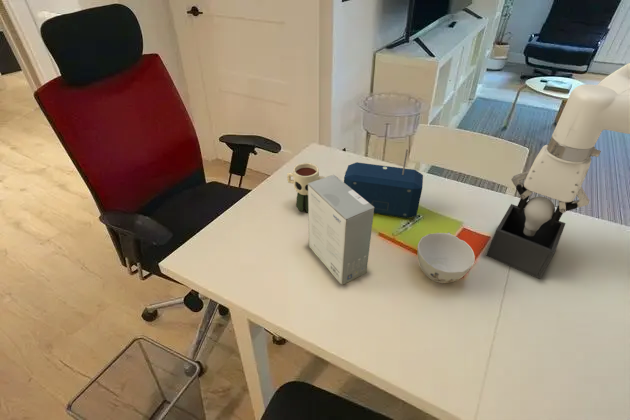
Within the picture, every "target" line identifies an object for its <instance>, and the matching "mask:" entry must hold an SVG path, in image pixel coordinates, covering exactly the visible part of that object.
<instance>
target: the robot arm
mask: <svg viewBox="0 0 630 420" xmlns="http://www.w3.org/2000/svg"><path fill="white" fill-rule="evenodd" d="M603 131H610V132H616V133H619V134H620V133H621V134H626V135H630V62H628V63H626V64H625V65H623V66H622V67H620V68H617V70H614V71H613V72H611V73H610V74H608V75H607V76H606V77H604V78H603V79H602V80H600V82H599V83H597V84H591V83H590V84H588V83H587V84H580V85H578V86H576V87H574V88H573V89H572V91H570V94H569V97H568V98H567V100H566V103H565V105H564V107H563V110H562V112H561V114H560V117H559V118H558V121H557V123H556V126H555V128H554V130H553V132H552V135H551V137H550V139H549V141H548V143H547V144H545V145H543V146H542V148H541V149H540V150H539V152H538V153H537V155H536V156H535V159H534V161H533V163H532V165H531V167H530V169H529V170H526V171H524V172H521V173H517V174H515V175H513V176H512V177H511V182H512V183H513V185H514V187H515V189H516V191H517V193H518V194H519V198H520V199H519V202H518V203H517V205H516V206H517V207H518V208H520V209H519V211H518V213H519V214H520V213H522V211H523V209H524V207H525V204H526V203H527V202H528V201H529V198H530V196H531V194H533V193H536V194H538V195H542V196H543V197H546V198H550V199H553V200H557V201H558V205H557V207H556V208H555V213H554V215H553V217H552V219H551V221H550V223H549V224H550V225H552V226H553V224H554V222H555V221H557V222H558V221H560V220H561V218H562V216H563V214H565V213H566V212H568V211H572V210H576V209H578V208H582V207H586V206H588V205H590V199H589V196H588V195H587V194H586V191H585V190H584V189H583V187H582V186H583V184H584V181H585V179H586V177H587V174H588V173H589V169H590V167H591V164H592V157H593V158H594V157H596V158H598V157H599V156H600V154H601V152H602V150H599V149H598V148H596V144H597V141H598V140H599V138H600V137H601V134H602V132H603ZM522 181H524V182H522ZM576 197H577V200H575V199H576Z"/></svg>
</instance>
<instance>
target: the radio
mask: <svg viewBox="0 0 630 420" xmlns="http://www.w3.org/2000/svg"><path fill="white" fill-rule="evenodd" d="M408 152H409V149H405V155H404V160H403V167H396V166H388V165H381V164H373V163H365V162H354V163H351V164H348V165H347V168H346V171H345V173H344V177H343V182H344V183H345V184H346V185H348V186H349V187H350V188H351V189H352V190H354V191H355V192H356V193H358V194H359V195H360V196H361V197H362V198H364V199H365V200H366V201H367V202H369V203H370V204H371V205H372V206H373V207H375V208H374V214H375V215H380V216H381V215H383V216H389V217H394V218H395V217H396V218H402V219H411V218H414V217H417V215H418V210H419V205H420V201H421V197H422V192H423V183H424V175H423V174H422V172H420V171H418V170H416V169H413V168H406V163H407V158H408Z"/></svg>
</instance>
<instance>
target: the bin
mask: <svg viewBox="0 0 630 420" xmlns="http://www.w3.org/2000/svg"><path fill="white" fill-rule="evenodd" d="M517 206H518V205H515V204H513V203H510V205H509V207H508V209H507V210H506V212H505V214H504V216H503V218H502V219H501V220H500V222H499V224H498V226H497V227H496V229H495V232H494V235H493V236H492V239H491V242H490V244H489V247H488V249H487V252H486V254H485V256H486V257H488V258H490V259H493V260H495V261H496V262H499V263H502V264H504V265H506V266H508V267H511V268H513V269H515V270H518V271H520V272H522V273H525V274H527V275H529V276H532V277H534V278H537V279H538V280H541V278H542V277H543V274H544V272H545V271H546V269H547V267H548V265H549V264H550V262H551V260H552V259H553V257H554V255H555V253H556V252H557V251H556V250H557V248H558V245H559V242H560V240H561V237H562V235H563V232H564V229H565V227H566V222H564V221H560V220H559V221H558V222H557V221H555V222H554V224H553V226H552V225H550V224H549V223H550V221H551V219H552V218H551V219H550V220H548V221H547V222H545V223H543V224H542V225H541V226H540V228H539V229H538V230H537V231H536V233H535V235H534V236H526V235H525V234H524V233H523V231H524V227H525V222H526V216H525V212H524V209H523V211H522V213H520V214H519V213H518V211H519V209H520V208H518V207H517Z"/></svg>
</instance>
